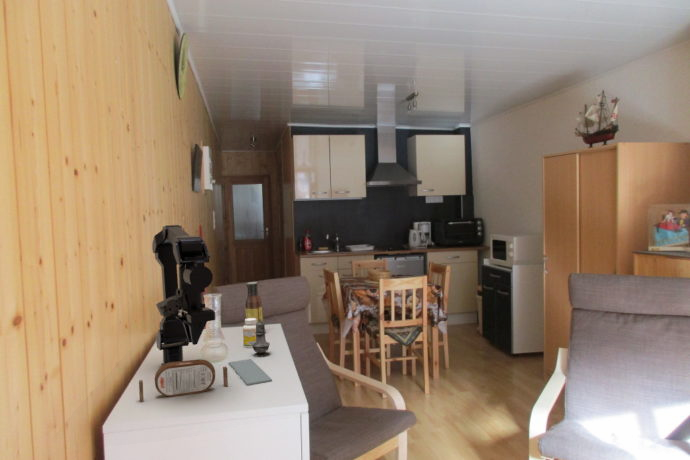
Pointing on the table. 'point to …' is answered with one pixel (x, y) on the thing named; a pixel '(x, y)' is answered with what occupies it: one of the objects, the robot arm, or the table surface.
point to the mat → (250, 372)
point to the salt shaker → (260, 341)
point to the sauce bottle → (253, 302)
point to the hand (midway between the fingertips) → (192, 343)
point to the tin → (184, 377)
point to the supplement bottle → (249, 332)
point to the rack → (225, 379)
